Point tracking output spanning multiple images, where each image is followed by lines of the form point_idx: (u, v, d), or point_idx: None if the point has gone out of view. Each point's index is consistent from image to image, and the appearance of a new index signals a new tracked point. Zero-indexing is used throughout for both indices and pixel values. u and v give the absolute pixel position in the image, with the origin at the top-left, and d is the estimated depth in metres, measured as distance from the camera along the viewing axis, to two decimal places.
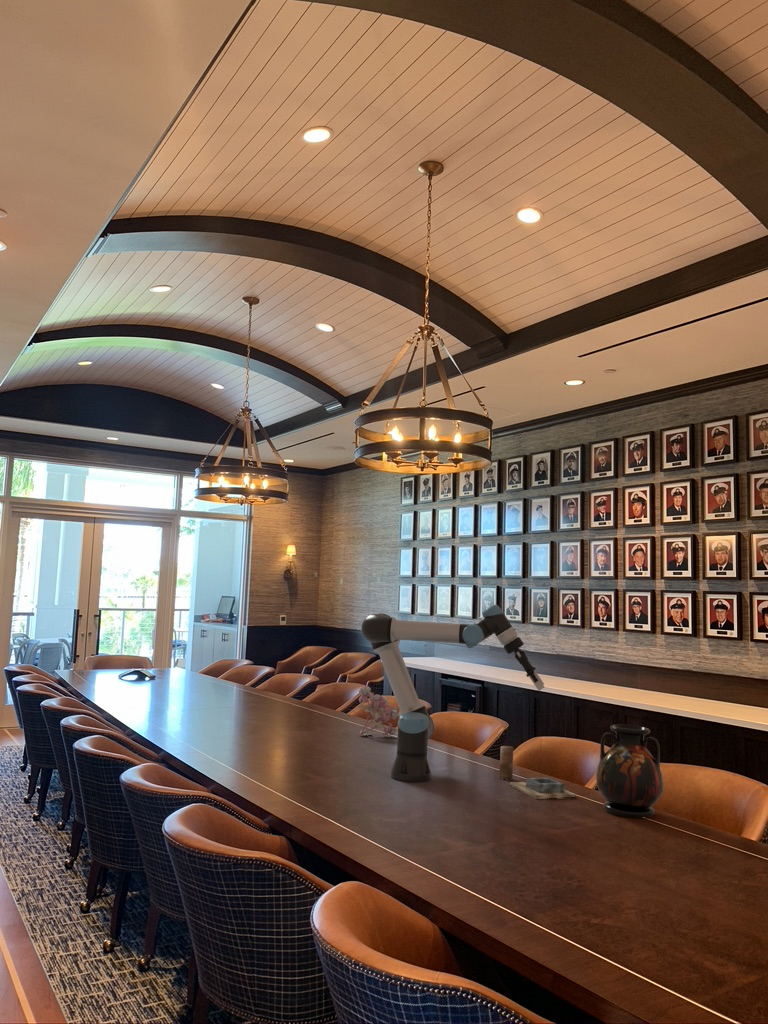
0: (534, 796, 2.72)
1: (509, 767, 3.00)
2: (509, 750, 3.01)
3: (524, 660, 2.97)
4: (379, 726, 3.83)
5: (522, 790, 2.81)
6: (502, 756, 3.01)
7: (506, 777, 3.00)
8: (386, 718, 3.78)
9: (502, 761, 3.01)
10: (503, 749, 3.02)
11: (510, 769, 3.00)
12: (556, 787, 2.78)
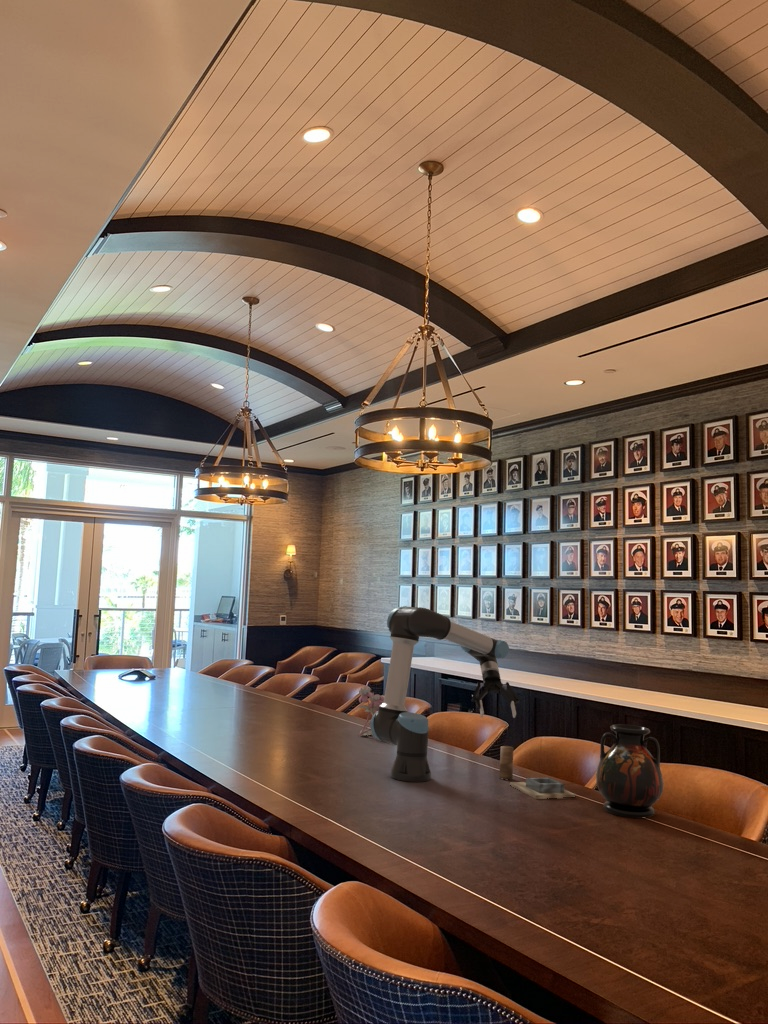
0: (534, 796, 2.72)
1: (509, 767, 3.00)
2: (509, 750, 3.01)
3: None
4: None
5: (522, 790, 2.81)
6: (502, 756, 3.01)
7: (506, 777, 3.00)
8: None
9: (502, 761, 3.01)
10: (503, 749, 3.02)
11: (510, 769, 3.00)
12: (556, 787, 2.78)
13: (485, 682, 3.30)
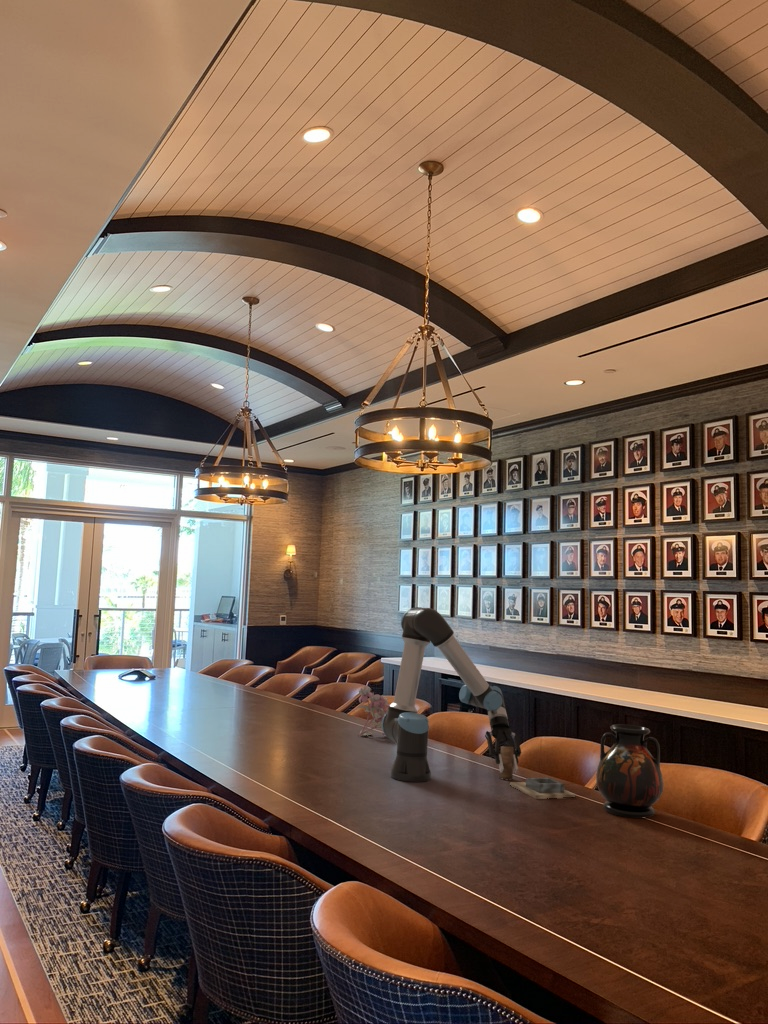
0: (534, 796, 2.72)
1: (509, 767, 3.00)
2: (509, 750, 3.01)
3: None
4: (379, 726, 3.83)
5: (522, 790, 2.81)
6: (502, 756, 3.01)
7: (506, 777, 3.00)
8: None
9: (502, 761, 3.01)
10: (503, 749, 3.02)
11: (510, 769, 3.00)
12: (556, 787, 2.78)
13: (493, 730, 3.12)
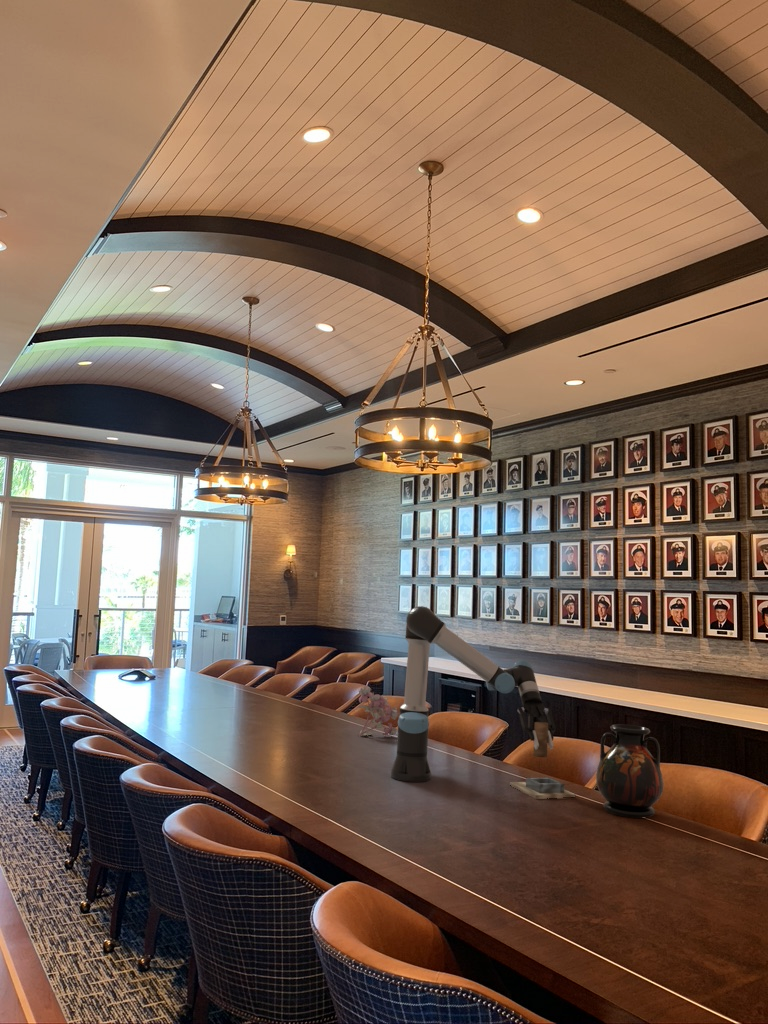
0: (534, 796, 2.72)
1: (544, 744, 2.87)
2: (544, 726, 2.88)
3: None
4: (379, 726, 3.83)
5: (522, 790, 2.81)
6: (536, 732, 2.88)
7: (541, 754, 2.86)
8: (386, 718, 3.78)
9: (537, 738, 2.88)
10: (538, 725, 2.88)
11: (545, 746, 2.87)
12: (556, 787, 2.78)
13: (525, 705, 2.98)
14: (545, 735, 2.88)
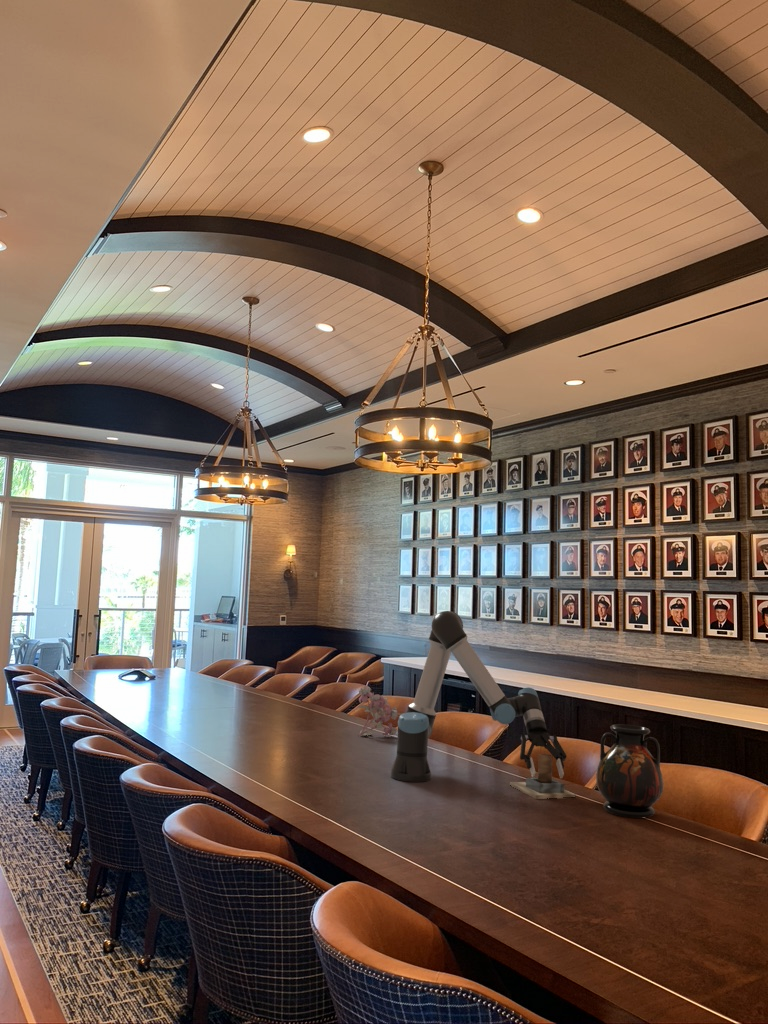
0: (534, 796, 2.72)
1: (548, 777, 2.80)
2: (548, 759, 2.81)
3: None
4: (379, 726, 3.83)
5: (522, 790, 2.81)
6: (541, 765, 2.81)
7: None
8: (386, 718, 3.78)
9: (541, 770, 2.81)
10: (542, 758, 2.81)
11: (549, 779, 2.80)
12: (556, 787, 2.78)
13: (530, 734, 2.91)
14: (549, 768, 2.80)
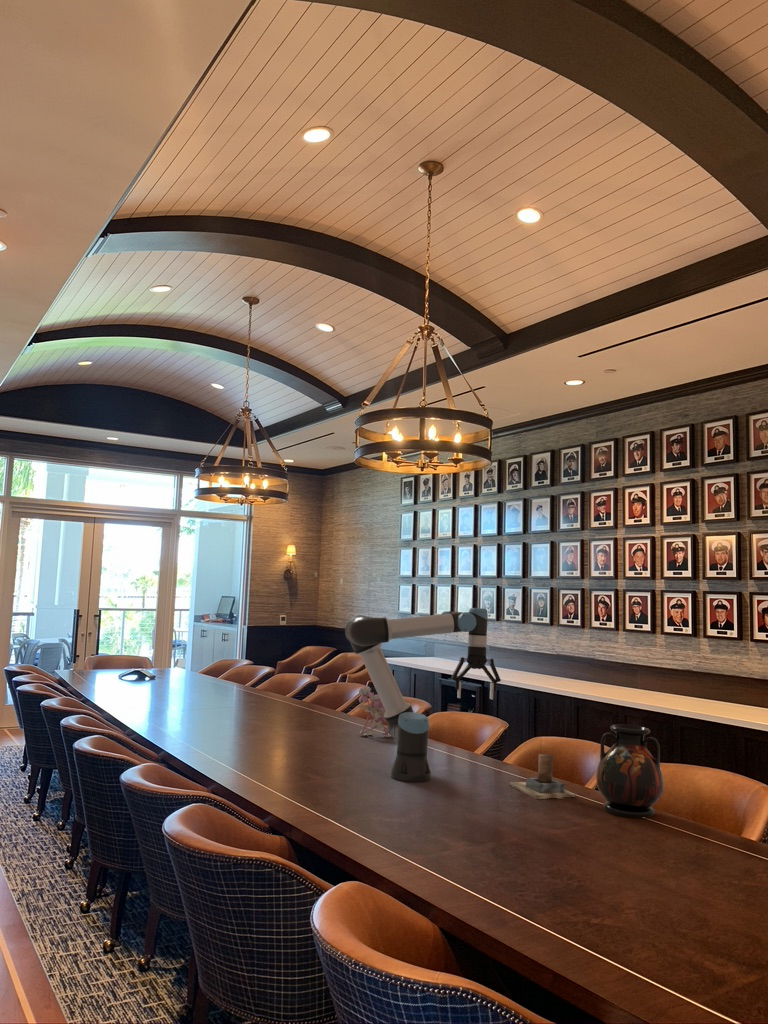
0: (534, 796, 2.72)
1: (548, 777, 2.80)
2: (548, 759, 2.81)
3: None
4: (379, 726, 3.83)
5: (522, 790, 2.81)
6: (541, 765, 2.81)
7: None
8: None
9: (541, 771, 2.81)
10: (542, 758, 2.81)
11: (549, 779, 2.80)
12: (556, 787, 2.78)
13: (469, 658, 3.17)
14: (549, 768, 2.80)
